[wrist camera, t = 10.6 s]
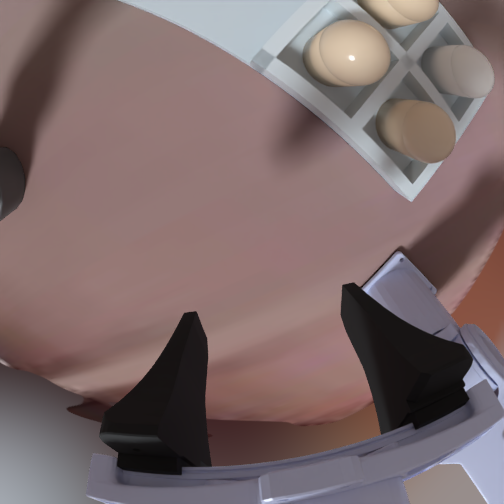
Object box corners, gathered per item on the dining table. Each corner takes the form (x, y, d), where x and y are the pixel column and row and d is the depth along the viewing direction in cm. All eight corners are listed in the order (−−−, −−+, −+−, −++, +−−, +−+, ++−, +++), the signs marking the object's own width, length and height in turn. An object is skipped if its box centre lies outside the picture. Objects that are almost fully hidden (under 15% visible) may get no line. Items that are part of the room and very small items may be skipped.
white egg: (462, 74, 15) (509, 80, 10) (442, 103, 16) (491, 113, 11) (434, 37, 13) (482, 34, 8) (413, 65, 15) (463, 65, 10)
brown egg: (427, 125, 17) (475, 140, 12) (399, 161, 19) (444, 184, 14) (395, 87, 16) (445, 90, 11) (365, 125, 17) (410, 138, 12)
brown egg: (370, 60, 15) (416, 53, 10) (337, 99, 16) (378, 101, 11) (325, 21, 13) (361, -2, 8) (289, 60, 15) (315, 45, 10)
